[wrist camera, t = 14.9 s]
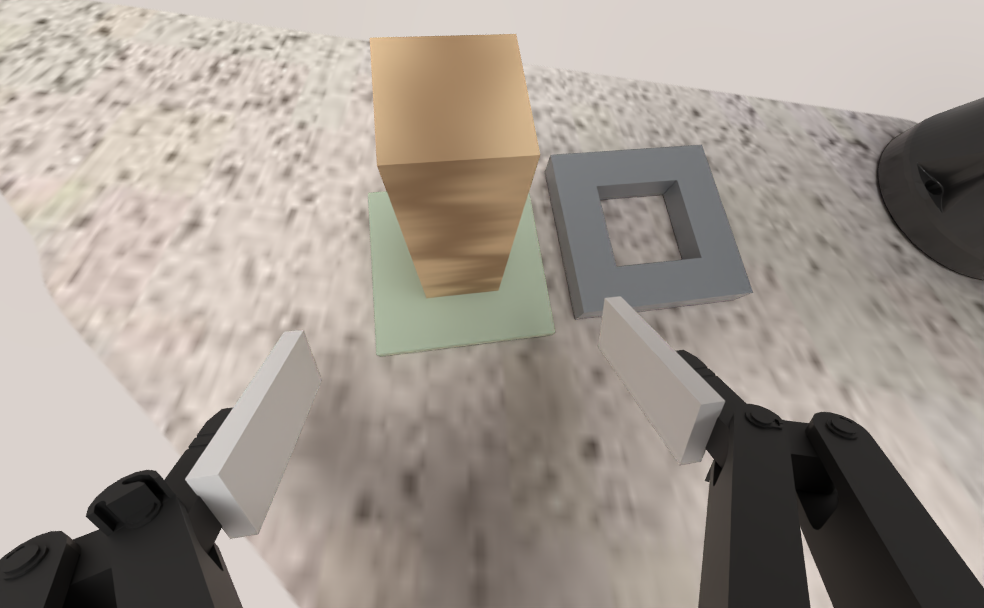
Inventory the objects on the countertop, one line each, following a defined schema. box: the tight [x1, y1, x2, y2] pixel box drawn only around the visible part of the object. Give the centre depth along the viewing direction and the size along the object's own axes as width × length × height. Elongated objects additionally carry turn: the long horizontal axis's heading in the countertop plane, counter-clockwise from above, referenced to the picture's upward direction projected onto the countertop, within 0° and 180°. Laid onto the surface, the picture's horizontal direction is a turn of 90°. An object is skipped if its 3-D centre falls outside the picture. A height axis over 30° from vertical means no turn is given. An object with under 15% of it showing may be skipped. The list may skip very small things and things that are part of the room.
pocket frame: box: [545, 145, 753, 319], centre depth 27 cm, size 12×12×2 cm
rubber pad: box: [368, 191, 555, 357], centre depth 25 cm, size 12×12×1 cm
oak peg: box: [370, 34, 540, 298], centre depth 18 cm, size 5×5×14 cm
